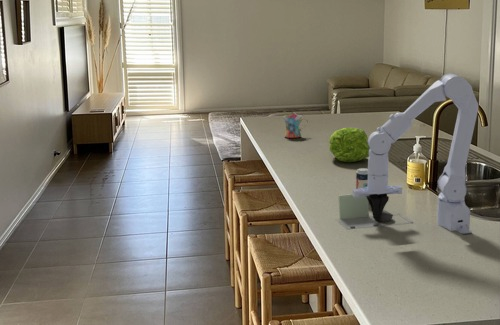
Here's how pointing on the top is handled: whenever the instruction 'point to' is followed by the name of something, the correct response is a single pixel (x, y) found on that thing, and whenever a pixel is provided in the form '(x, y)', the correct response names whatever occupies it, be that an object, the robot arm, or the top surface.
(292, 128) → the mug
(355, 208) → the cover
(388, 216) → the dark grey pebble
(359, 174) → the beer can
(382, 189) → the robot arm
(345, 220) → the grey ball tray
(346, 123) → the top surface
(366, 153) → the lettuce
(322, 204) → the top surface
